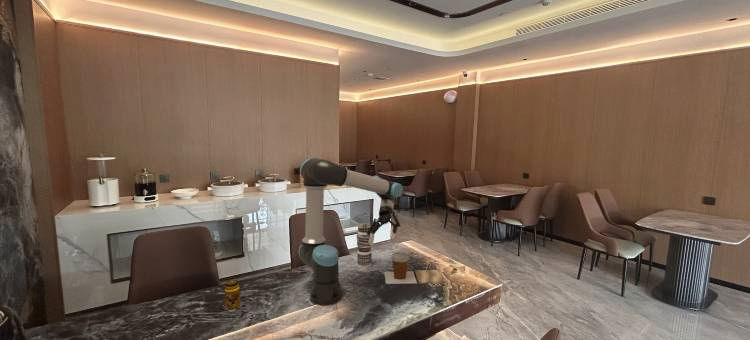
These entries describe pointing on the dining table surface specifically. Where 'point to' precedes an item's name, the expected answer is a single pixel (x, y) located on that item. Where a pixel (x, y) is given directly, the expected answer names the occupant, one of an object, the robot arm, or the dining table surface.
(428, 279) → the oak coaster
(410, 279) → the mat
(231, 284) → the condiment
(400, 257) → the disposable coffee cup
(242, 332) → the dining table surface
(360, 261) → the decorative candle
